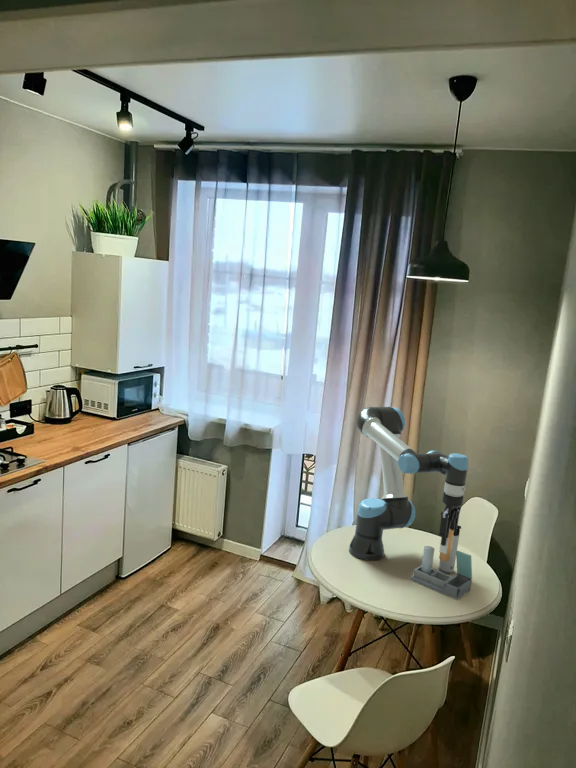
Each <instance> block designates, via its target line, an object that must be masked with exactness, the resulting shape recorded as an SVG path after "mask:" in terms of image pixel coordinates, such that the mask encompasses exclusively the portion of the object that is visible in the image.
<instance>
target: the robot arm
mask: <svg viewBox="0 0 576 768" xmlns="http://www.w3.org/2000/svg"><path fill="white" fill-rule="evenodd" d="M355 424H356V427H357V429H358V431H359V432H360V433H361V434H362V435H363V436H364V437H366V438H370V439H371V440H372V441H374V442H375V443H376V445H378V446H379V453H380V460H381V461H380V462H381V472H382V473H381V474H382V483H383V492H384V494H383V496H382V497H381V499H380V498H374V497H373V498H372V497H371V498H370V497H369V498H365V499H363V500H361V501H360V502H359V505H358V509H357V516H356V525H355V533H354V535H353V537H352V540H351V542H350V543H349V548H348V552H349V553H350V554H351V556H353V557H355V558H357V559H361V560H365V561H379V560H382V559H383V558H384V556H385V548H384V547H385V546H384V542H383V533H384V530H385V531H386V530H394V529H403V528H407V527H409V526H411V525H412V524H413V522H414V520H415V518H416V508H415V505H414V504H413V502H412V501H411V500H409V496H408V494H406V493H405V490H404V489H405V488H404V480H403V474H409V475H411V474H423V473H425V474H427V473H440V474H442V475H444V476H445V482H444V487H443V495H442V502H443V504H445V507H444V511H441V513H440V517H441V518H440V527H439V533H438V536H440V537H441V539H440V543H439V545H440V546H439V553H440V552H442V553H444V554H447V548H448V541H449V538H448V534H449V530H450V529H452V530H454V533H453V534H455V535H456V534H457V532H455V531H457V526H459V520H460V519H459V518H460V512H461V509H462V507H461V506H463V503H464V495H465V491H466V490H467V489H466V488H465V487H466V482H467V474H468V469H469V457H468V456H467V455H465V454H461V453H457V452H456V453H450V454H448V455H447V454H445V453H442V452H441V451H438V450H429V451H428V452H427V453H418V452H416V451H415V450H414V449H413V448H411V447H410V446H409V445H408V444H406V443H405V442H404V441H402V439H400V437H401V436H402V432H403V431H404V429H405V426H406V418H405V415H404V413H403V412H402V410H400V409H399V408H397V407H392V406H367V407H364V408H362V410H360V411H359V412H358V413H357V416H356V422H355ZM453 537H454V535H453ZM452 544H453V540H452ZM451 550H452V547H451Z"/></svg>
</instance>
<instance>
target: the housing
mask: <svg viewBox="0 0 576 768" xmlns="http://www.w3.org/2000/svg"><path fill="white" fill-rule="evenodd" d="M421 567H422V564H421V565H419V566H418V567H416V568H414V569H413V575H412V576H410V579H409V580H410V581H412V582H415V583H417V584H418V585H422V586H424V587H426V588H429V589H431V590H434V591H436V592H438V593H441V594H443V595H445V596H448V597H450V598H452V599H455V600H457V601H458V600H460V599H461V598H462V597H464V595H466V594H468V592H469V591H470V590H471V588H472V587H471V586H472V581H473V580H472V579H469V578H466V577H463V576H461V575H458V574H457V573H456V574H455V575H454V576H452V575H451V574H447V573H443V572H441V571H440V570H437V569H435V568H432V570H431V574H430V575H428V574H426V573H423V572H421Z"/></svg>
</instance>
